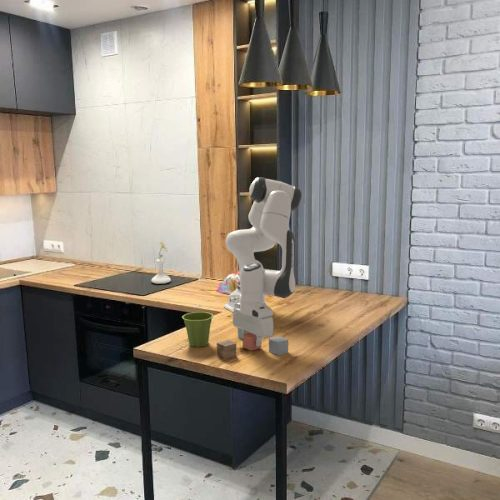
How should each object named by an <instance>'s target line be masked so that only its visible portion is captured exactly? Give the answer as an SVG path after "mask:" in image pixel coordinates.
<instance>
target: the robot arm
mask: <svg viewBox="0 0 500 500" xmlns="http://www.w3.org/2000/svg"><path fill="white" fill-rule="evenodd" d="M248 193H249V197H250V199H251V201H253V204H252V205H251V208H250V210H249V213H248V221H249V223H250V224H251V226H252V227H251V228H247V229H244V228H243V229H237V230H234V231H231V232H229V233H228V234H227V236H226V237H225V246H226V249H227V250H228V252H229V253H230V254H231V255H233V256H234V257H235V259H236V261H237V264H238V271H239V275H240V281H239V282H238V283H237V284H238V286H237V289H236V290H235V291H234V292H232V293H231V294H229V295H228V301H227V303H225V304H224V303H223V305H222V306H223V308H225V309H227V310H228V311H229V312H231V313H232V325H233V326H234V327H235V328H237V329H238V328H240V329H242V334H246V333H248V332H250V333H252V334H255V335H256V338H257V340H256V341H254V343H255V344H254V345H256V346H260V345H261V346H262V340H263V339H270V338H272V336H273V335H274V318H273V317H272V316H273V315H274V309H272V308H271V307H269V306H268V305H267V302H266V296H273V297H277V298H282V299H286V298H288V297H290V296H291V295H292V294H294V292H295V291H296V276H295V275H296V274H295V272H296V270H295V269H296V267H295V266H296V265H295V263H296V262H295V261H296V242H295V241H296V240H295V235H294V232H293V231H292V230H291V229H290V224H289V223H290V218H291V213H292V212H295V211H296V210H297V209H298V208H299V206H300V204H301V202H302V199H303V198H302V195H303V194H302V190H301V189H300V188H299V187H297V186H295V185H291V184H289V183H286V182H283V181H281V180H276V179H270V178H265V177H262V176H261V177H260V176H259V177H256V178H254V179H253V181H252V183H250V186H249V192H248ZM275 244H278V245H280V247H281V249H282V250H281V251H282V254H281V269H280V270H275V269H267V268H264V266H263V264H262V263H261V261H259V260H257V259H256V257H255V255H254V253H257V252H258V253H259V252H265V251H267V250H270V249H272V248H274V246H275Z"/></svg>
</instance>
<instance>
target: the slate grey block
mask: <svg viewBox="0 0 500 500" xmlns="http://www.w3.org/2000/svg"><path fill="white" fill-rule="evenodd" d="M268 352H269V353H271V354H273V355H276V356H281V355H284V354H287V353H289V339H288V338H285V337H282V336H280V335H279V336H278V335H277V336H275V337H269V338H268Z"/></svg>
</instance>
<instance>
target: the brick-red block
mask: <svg viewBox="0 0 500 500" xmlns="http://www.w3.org/2000/svg"><path fill="white" fill-rule="evenodd" d="M256 340H257V338H256V335H255V334H252V333H246V334H243V339H242V348H244V349H245V350H249V351H255V350H258V349H262V344H261V345H260V346H256V345H254V344H255V343H254V341H256Z"/></svg>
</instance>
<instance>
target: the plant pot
mask: <svg viewBox="0 0 500 500" xmlns="http://www.w3.org/2000/svg"><path fill="white" fill-rule="evenodd" d="M213 317H214V314H213V313H211V312H207V311H195V312H188V313H185V314H184V315H183V314H182V316H181V318H182V319H183V322H184V325H185V329H186V334H187V338H188V343H189V346H190V347H196V348H202V347H205V346H207V345H208V344H209V342H210V341H209V339H210V331H211V325H212V319H213Z"/></svg>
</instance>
